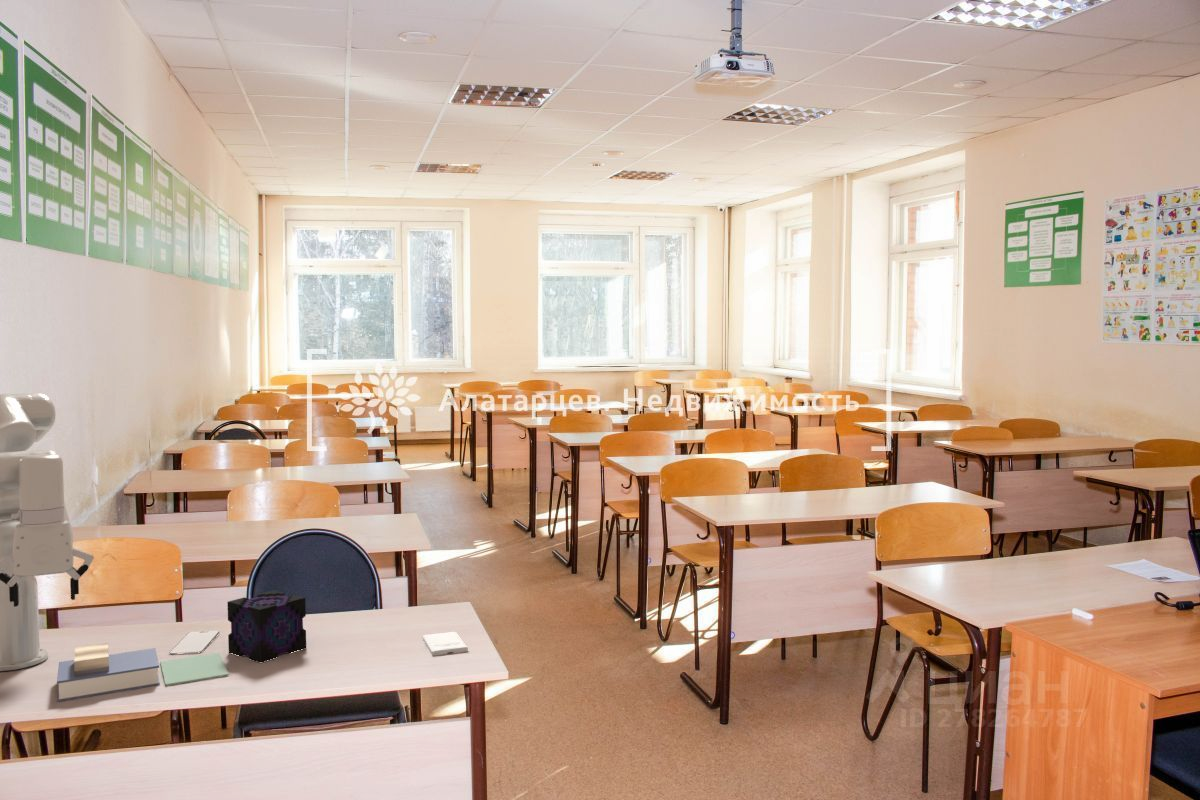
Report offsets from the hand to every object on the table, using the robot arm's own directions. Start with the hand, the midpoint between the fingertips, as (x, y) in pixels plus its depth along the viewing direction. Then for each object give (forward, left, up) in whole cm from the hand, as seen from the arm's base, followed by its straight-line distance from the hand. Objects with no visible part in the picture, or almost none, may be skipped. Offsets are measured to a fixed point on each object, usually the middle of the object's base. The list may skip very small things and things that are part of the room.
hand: (45, 601), depth 179 cm
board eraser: (0, +8, -13) cm, 15 cm away
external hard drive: (+12, +79, -19) cm, 82 cm away
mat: (0, +27, -19) cm, 33 cm away
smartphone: (-19, +29, -19) cm, 40 cm away
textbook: (0, +11, -19) cm, 22 cm away
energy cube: (-5, +43, -19) cm, 47 cm away
